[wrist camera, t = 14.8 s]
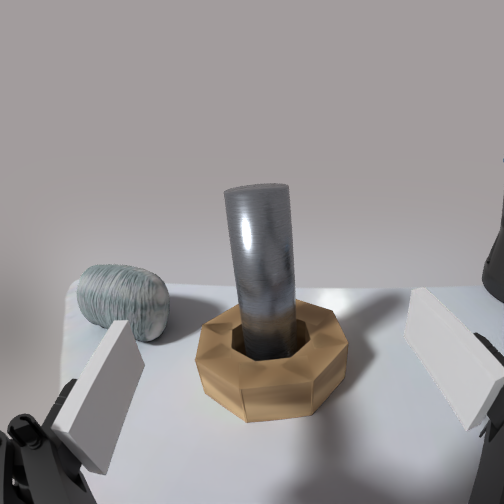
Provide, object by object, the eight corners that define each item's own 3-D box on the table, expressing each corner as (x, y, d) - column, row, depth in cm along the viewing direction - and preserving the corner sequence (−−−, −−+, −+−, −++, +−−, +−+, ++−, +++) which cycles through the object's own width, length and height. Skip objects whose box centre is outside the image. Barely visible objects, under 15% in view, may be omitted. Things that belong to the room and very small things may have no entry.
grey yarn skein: (57, 312, 32) (72, 239, 31) (110, 311, 40) (126, 248, 40) (116, 374, 26) (138, 283, 25) (174, 358, 34) (197, 285, 34)
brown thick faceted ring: (323, 324, 31) (324, 292, 30) (356, 407, 20) (362, 372, 18) (212, 336, 31) (206, 305, 30) (200, 424, 20) (188, 391, 18)
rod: (294, 352, 27) (284, 181, 22) (300, 383, 23) (293, 189, 18) (248, 356, 27) (225, 187, 22) (249, 389, 23) (221, 197, 18)
